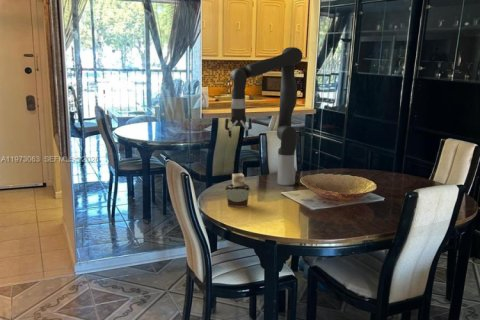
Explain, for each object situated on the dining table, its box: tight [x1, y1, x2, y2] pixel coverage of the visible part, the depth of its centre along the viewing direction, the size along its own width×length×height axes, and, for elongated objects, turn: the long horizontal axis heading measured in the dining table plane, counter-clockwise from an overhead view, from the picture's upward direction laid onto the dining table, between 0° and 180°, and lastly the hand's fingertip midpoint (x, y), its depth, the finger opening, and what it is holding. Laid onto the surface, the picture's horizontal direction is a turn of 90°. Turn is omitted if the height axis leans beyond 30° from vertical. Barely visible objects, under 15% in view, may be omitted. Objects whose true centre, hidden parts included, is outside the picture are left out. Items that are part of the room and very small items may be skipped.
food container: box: [224, 183, 251, 208], centre depth 217 cm, size 12×6×10 cm, turn 84°
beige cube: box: [231, 172, 245, 187], centre depth 215 cm, size 5×5×5 cm
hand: (238, 137), depth 239 cm, fingers open, 8 cm apart
